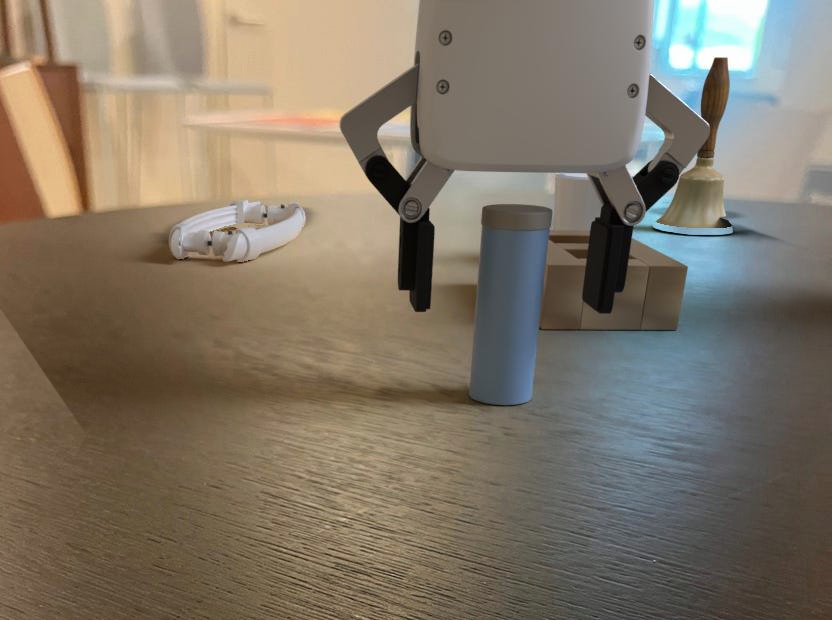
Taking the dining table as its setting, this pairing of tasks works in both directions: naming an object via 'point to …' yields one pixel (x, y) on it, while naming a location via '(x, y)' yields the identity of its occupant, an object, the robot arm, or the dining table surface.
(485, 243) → the cylindrical bottle
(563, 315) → the holder
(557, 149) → the robot arm
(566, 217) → the white faceted cup
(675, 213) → the hand bell
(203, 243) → the white oval frame
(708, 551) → the dining table surface
